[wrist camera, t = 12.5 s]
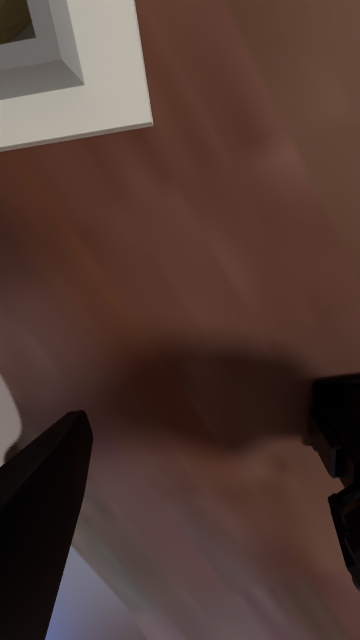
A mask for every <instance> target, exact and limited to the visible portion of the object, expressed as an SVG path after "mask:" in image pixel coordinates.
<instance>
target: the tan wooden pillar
mask: <svg viewBox="0 0 360 640" xmlns="http://www.w3.org/2000/svg"><path fill="white" fill-rule="evenodd" d="M31 22H32V19H31V15H30V11H29V7H28V3H27V0H0V45H1V44H6V43H9V42H10V41H11V40H13V39H14V38H15V37H16V36H17V35H18V34H19V33H20V32H21V31H22V30H24V29H25V28H26V27H27V26H28V25H29V24H30V23H31Z"/></svg>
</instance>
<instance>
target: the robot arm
mask: <svg viewBox="0 0 360 640" xmlns="http://www.w3.org/2000/svg"><path fill="white" fill-rule="evenodd" d="M319 387H322V388H321V389H318V388H319ZM308 435H309V437H310V439H311V445H312V447H313V449H314V450H315V451H316V452H318V454H319V456H320V458H321V460H322V462H323V464H324V466H325V468H326V469H327V471H328V473H329V475H330V476H331V477H332V478H334V479H336V478H339V479H340V481H341V482H342V484H343V486H344V489H343V490H341V491H340V492H338V493H337V494H335V493H334V494H332V495H331V496H329V497H328V502H329V505H330V509H331V515H332V518H333V522H334V525H335V529H336V532H337V536H338V539H339V543H340V546H341V550H342V554H343V557H344V561H345V564H346V567H347V569H348V571H349V572H350V574H351V575H352V581H353V583H354V585H355V587H356V588H357V589H358V590H359V591H360V376H354V377H346V378H338V379H330V380H321V381H317V382H315V383H314V384H313V386H312V408H310V410H309V428H308ZM92 444H93V434H92V430H91V427H90V424H89V421H88V418H87V415H86V413H85V411H83V410H78V411H70V412H68V413H67V414H65V415H64V416H63V417H62V418H61V419H59V420H58V421H57V422H56V423H54V424H53V425H52V426H51V427H49V428H48V429H47V430H46V431H44V432H43V433H42V434H41V435H39V436H38V437H37V438H36V439H34V440H33V441H32V442H31V443H30V444H28V445H27V446H26V447H25V448H23V449H22V450H21V451H20V452H18V453H17V454H16V455H15V456H13V457H12V458H11V459H10V460H8V461H7V462H6V463H5V464H3V465H2V466H1V467H0V640H45V637H46V634H47V630H48V626H49V623H50V619H51V615H52V612H53V608H54V604H55V601H56V597H57V593H58V590H59V586H60V582H61V579H62V575H63V571H64V568H65V564H66V560H67V557H68V553H69V549H70V546H71V542H72V538H73V535H74V531H75V527H76V524H77V520H78V516H79V513H80V509H81V505H82V501H83V497H84V493H85V487H86V481H87V475H88V469H89V463H90V456H91V450H92Z"/></svg>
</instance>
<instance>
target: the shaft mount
mask: <svg viewBox="0 0 360 640" xmlns="http://www.w3.org/2000/svg"><path fill="white" fill-rule="evenodd" d="M27 3H28V7H29V11H30V15H31V19H32V22H31V23H30V24H29V25H28V26H27V27H26V28H25V29H24V30H22V31H21V32H20V33H19V34H18V35H17V36H16V37H15V38H14V39H13V40H11V41H10V42H9V43H6V44H1V45H0V152H2V151H8V150H14V149H20V148H26V147H32V146H38V145H44V144H50V143H56V142H62V141H68V140H74V139H79V138H85V137H91V136H97V135H103V134H109V133H115V132H121V131H127V130H133V129H139V128H145V127H151V126H154V125H153V118H152V112H151V105H150V99H149V92H148V86H147V79H146V73H145V66H144V59H143V53H142V46H141V40H140V33H139V27H138V20H137V14H136V7H135V0H27Z"/></svg>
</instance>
